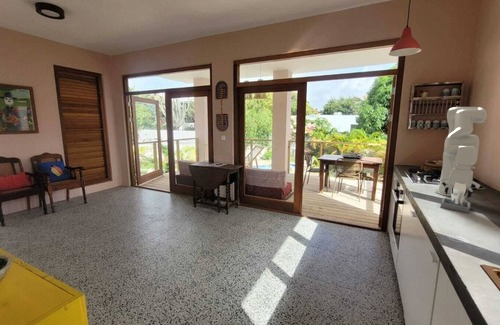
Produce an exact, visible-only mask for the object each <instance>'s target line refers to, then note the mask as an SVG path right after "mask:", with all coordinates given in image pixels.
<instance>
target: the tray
mask: <svg viewBox="0 0 500 325" xmlns="http://www.w3.org/2000/svg"><path fill="white" fill-rule="evenodd" d="M450 202H451V198H447V197H442V200H441V203H440V206H439V207H440V208H441V209H444V210H445V209H446V210H451V211H455V212H459V213H464V214H470V209H471V202H468V201H463V207H462V206H458V205H453V204H450Z"/></svg>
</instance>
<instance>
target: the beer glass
mask: <svg viewBox="0 0 500 325" xmlns="http://www.w3.org/2000/svg"><path fill="white" fill-rule="evenodd" d="M468 191H469V189H468V188H466V184H463V183H457V182H455V184H454V186H452V189H451V196H450V199H451V202H450V204H453V205H458V206H462V207H463V202H464V201H465V198H466V195H468Z"/></svg>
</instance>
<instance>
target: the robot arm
mask: <svg viewBox="0 0 500 325" xmlns="http://www.w3.org/2000/svg"><path fill="white" fill-rule="evenodd" d="M487 117H488V114H487V111H486V109H485V108H483V107H481V106H456V107H455V106H454V107H451V108H449V109H447V112H446V121H447V124H448V135H447V136H446V138H445V140H444V145H443V146H444V148H443V153H442V168H441V174H440V179H439V185H438V189H435V193H436V194H438V195H442V196H448V197H451V189H452V186H454V184H455V182H457V183H463V184H466V188H468V190H467V197H466V199H470V198H472V194H473V192H474V191H477V190H478V189H479V188H480V187H481V184H479V183H477V182H476V181H474V180H473V179H474V178H473V177H474V170H475V169H476V166H474V165H475V164H476V163H477V161H478V157H479V155H478V154H479V146H480V138H479V136H478V135H477V134H472V133H473V131H474V124H483V123H485V122H486V121H487V120H486V119H487ZM472 185H474V187H472Z"/></svg>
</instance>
